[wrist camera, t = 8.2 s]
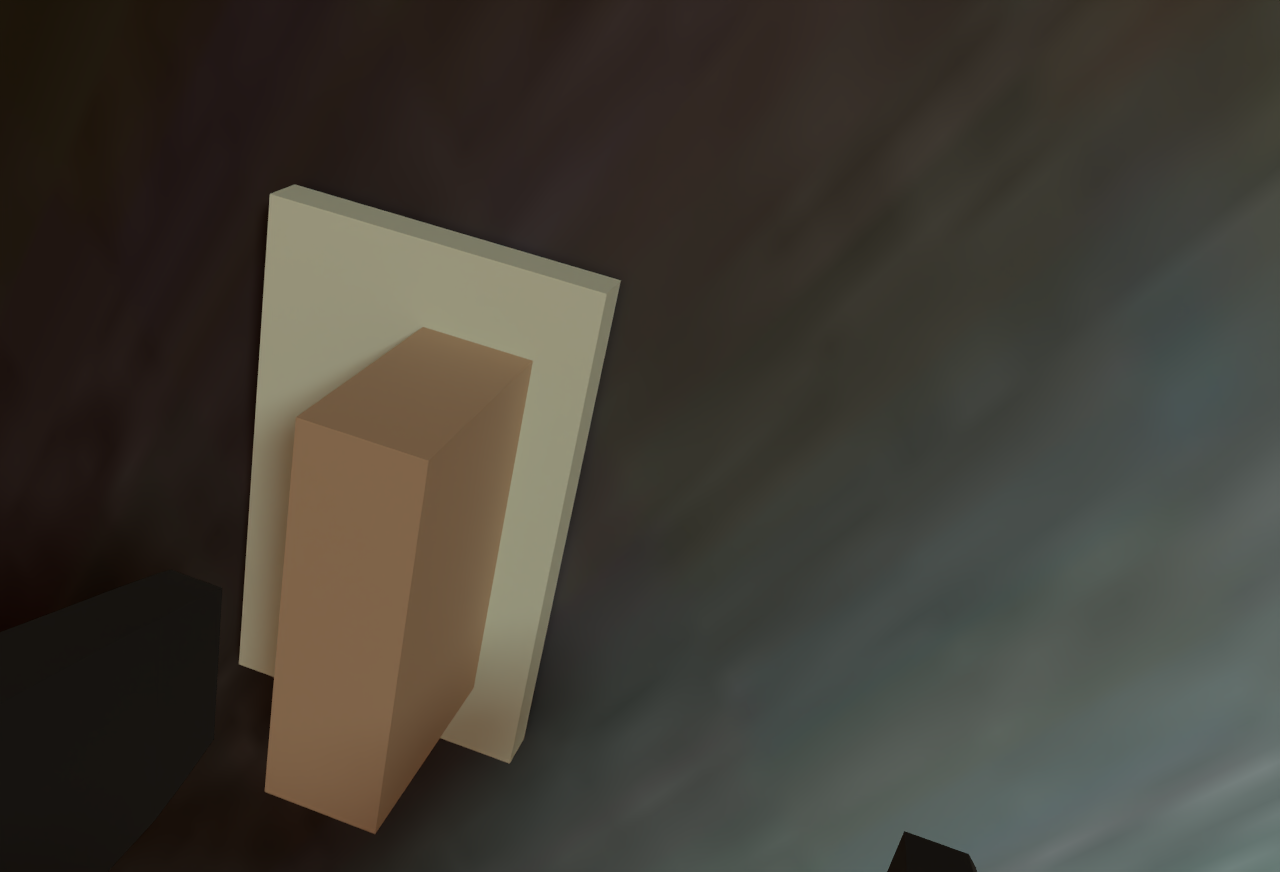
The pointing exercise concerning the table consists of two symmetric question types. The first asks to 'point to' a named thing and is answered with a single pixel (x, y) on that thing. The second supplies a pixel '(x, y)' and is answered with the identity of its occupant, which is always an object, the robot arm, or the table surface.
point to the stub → (407, 491)
